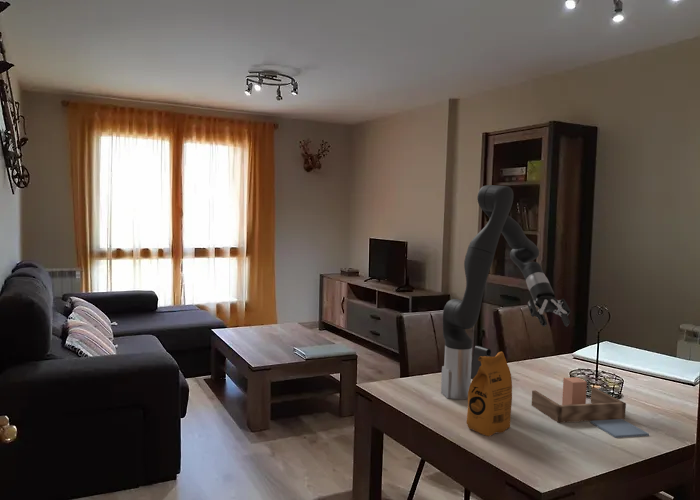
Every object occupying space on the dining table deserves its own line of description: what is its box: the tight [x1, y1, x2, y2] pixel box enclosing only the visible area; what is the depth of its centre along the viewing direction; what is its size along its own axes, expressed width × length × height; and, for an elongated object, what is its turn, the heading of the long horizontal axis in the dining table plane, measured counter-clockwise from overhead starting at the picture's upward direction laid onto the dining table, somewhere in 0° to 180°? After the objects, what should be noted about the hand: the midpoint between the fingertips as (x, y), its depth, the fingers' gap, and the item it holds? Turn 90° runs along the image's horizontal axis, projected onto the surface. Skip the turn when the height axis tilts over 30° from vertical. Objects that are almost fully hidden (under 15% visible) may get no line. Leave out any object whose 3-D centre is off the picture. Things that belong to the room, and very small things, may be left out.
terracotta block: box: [561, 376, 588, 405], centre depth 169 cm, size 5×5×10 cm
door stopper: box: [471, 345, 492, 380], centre depth 201 cm, size 9×6×12 cm, turn 124°
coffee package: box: [465, 351, 513, 437], centre depth 152 cm, size 10×12×22 cm
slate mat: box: [589, 419, 650, 439], centre depth 154 cm, size 11×11×1 cm
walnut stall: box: [531, 387, 627, 424], centre depth 167 cm, size 23×15×5 cm, turn 101°
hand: (556, 325), depth 179 cm, fingers open, 8 cm apart
